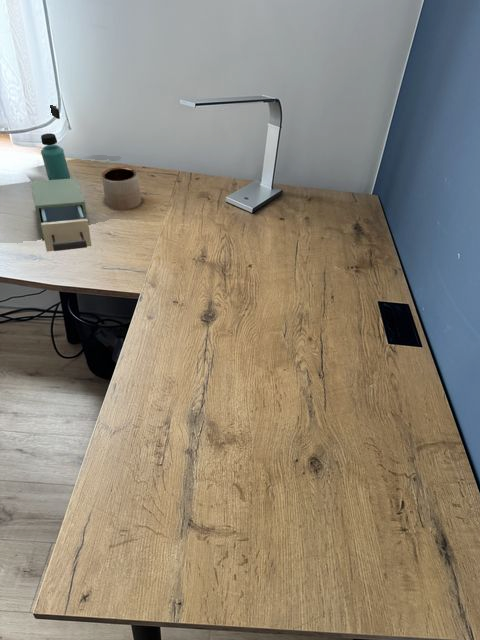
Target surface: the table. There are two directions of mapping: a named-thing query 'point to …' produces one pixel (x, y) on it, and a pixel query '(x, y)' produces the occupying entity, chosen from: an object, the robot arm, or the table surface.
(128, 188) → the planter
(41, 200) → the green drawer cabinet
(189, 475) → the table surface
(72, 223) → the drawer
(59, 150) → the beverage bottle
